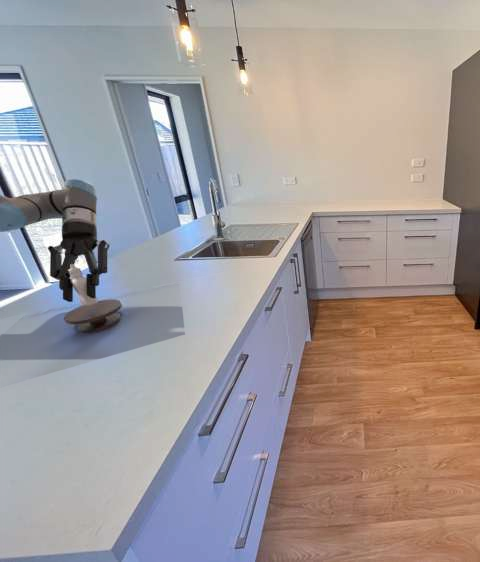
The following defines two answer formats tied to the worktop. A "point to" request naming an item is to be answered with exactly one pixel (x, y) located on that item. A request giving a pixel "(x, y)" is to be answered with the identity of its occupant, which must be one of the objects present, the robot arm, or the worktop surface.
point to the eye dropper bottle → (81, 286)
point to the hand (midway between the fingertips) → (79, 298)
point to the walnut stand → (95, 316)
